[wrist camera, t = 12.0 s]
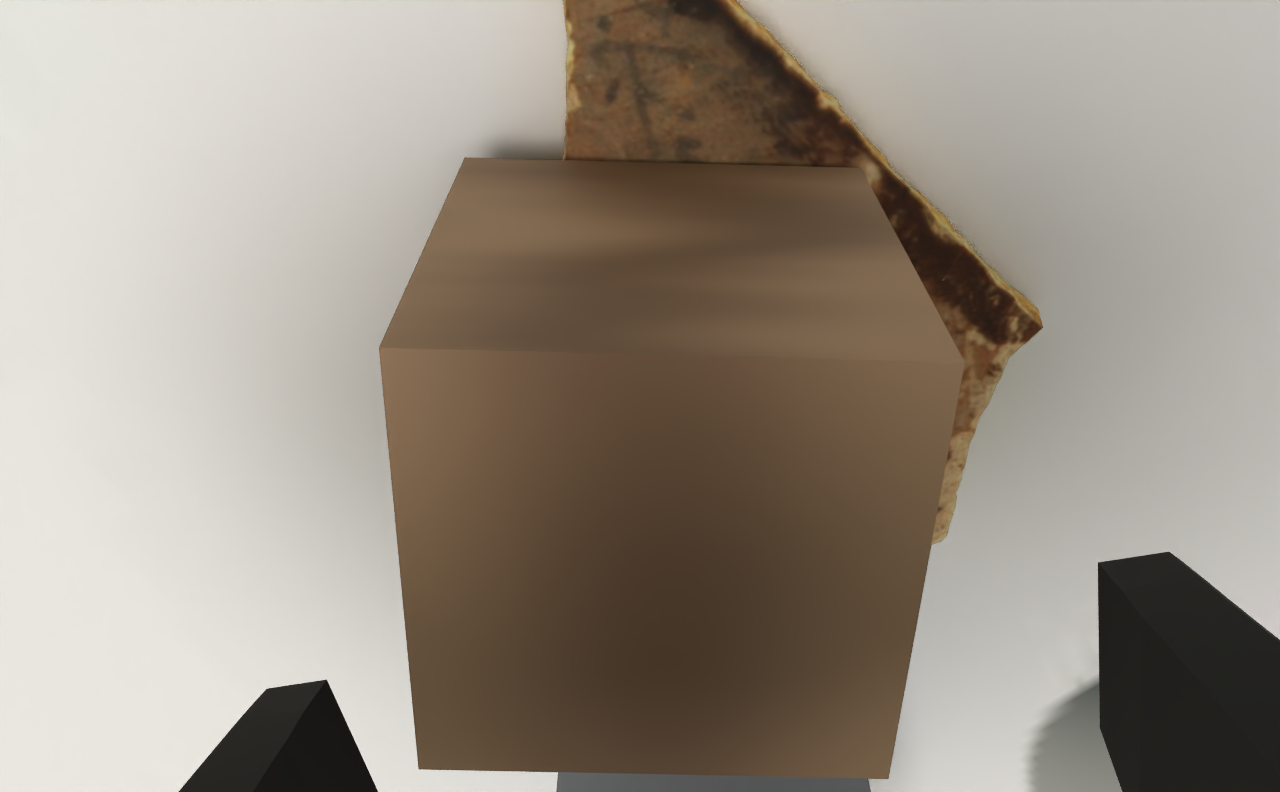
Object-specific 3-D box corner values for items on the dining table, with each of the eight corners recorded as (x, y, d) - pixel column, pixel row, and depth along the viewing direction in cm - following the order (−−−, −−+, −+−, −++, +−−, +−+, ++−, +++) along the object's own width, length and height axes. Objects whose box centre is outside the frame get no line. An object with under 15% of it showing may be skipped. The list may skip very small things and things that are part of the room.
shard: (567, -176, 16) (559, -168, 14) (1119, -148, 16) (1172, -136, 14) (558, 484, 21) (551, 543, 19) (972, 500, 21) (998, 561, 20)
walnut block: (860, 167, 16) (964, 361, 11) (820, 497, 19) (887, 779, 14) (464, 157, 16) (378, 347, 11) (480, 488, 19) (418, 769, 14)
